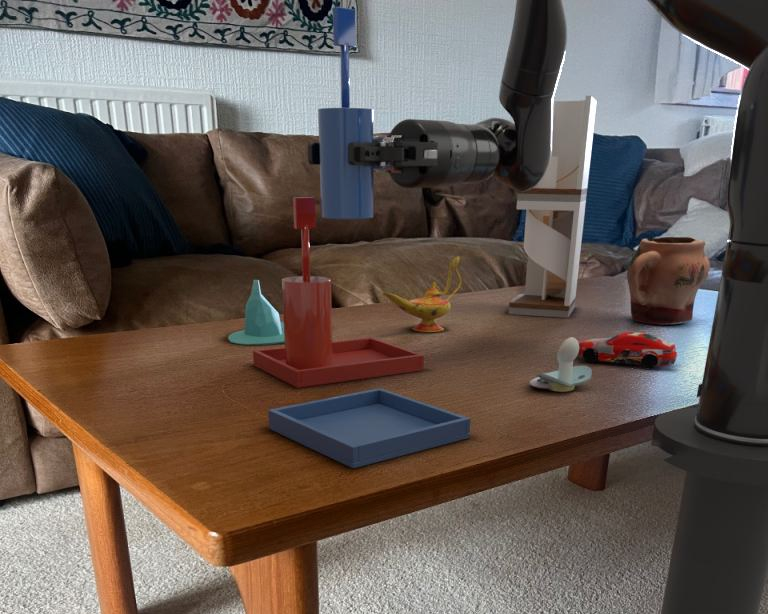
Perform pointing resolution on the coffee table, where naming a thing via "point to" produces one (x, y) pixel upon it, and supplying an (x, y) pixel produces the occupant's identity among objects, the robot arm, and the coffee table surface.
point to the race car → (629, 350)
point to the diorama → (259, 322)
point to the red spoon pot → (307, 303)
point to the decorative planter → (666, 279)
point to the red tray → (343, 363)
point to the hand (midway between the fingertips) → (330, 153)
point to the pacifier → (564, 370)
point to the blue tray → (368, 426)
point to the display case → (557, 214)
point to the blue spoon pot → (344, 140)
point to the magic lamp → (428, 304)
